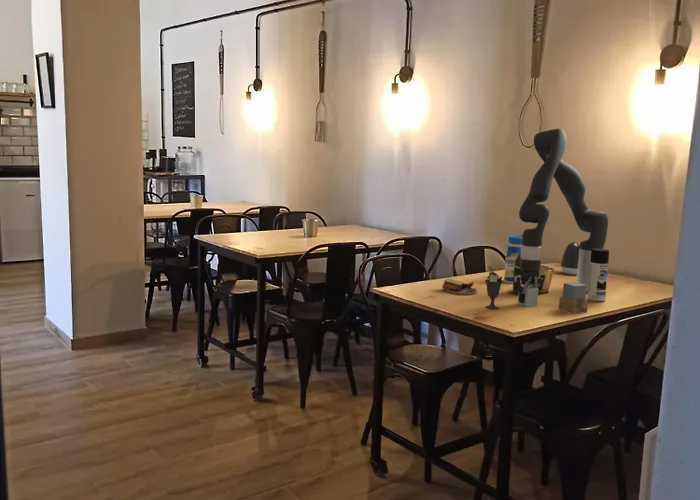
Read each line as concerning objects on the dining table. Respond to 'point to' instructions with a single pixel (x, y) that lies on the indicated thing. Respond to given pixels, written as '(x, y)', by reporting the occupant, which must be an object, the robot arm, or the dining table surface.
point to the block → (530, 297)
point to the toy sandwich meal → (458, 287)
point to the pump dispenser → (570, 259)
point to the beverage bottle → (512, 257)
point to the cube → (574, 290)
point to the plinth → (573, 305)
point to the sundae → (493, 288)
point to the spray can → (598, 274)
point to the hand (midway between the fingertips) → (527, 302)
